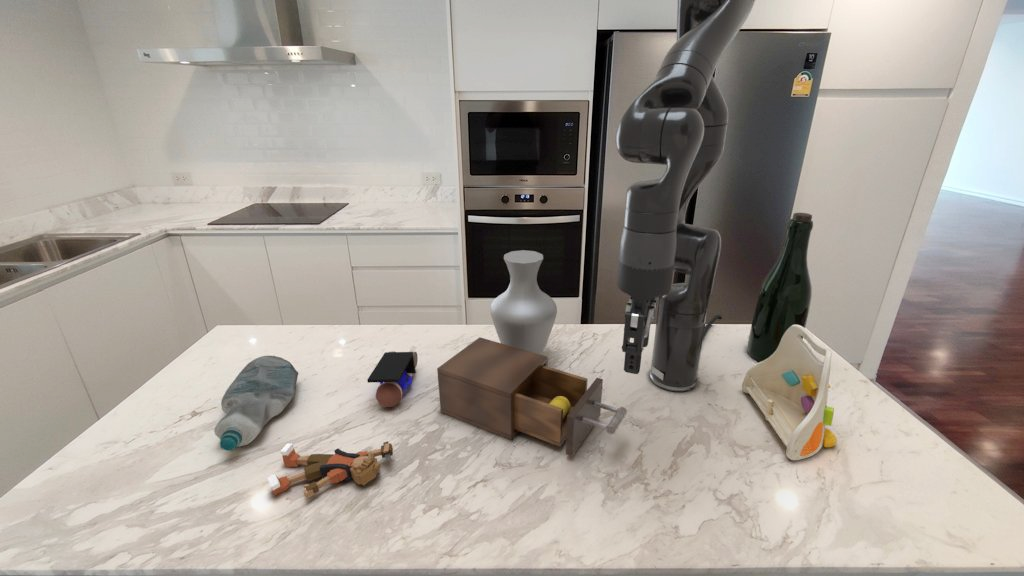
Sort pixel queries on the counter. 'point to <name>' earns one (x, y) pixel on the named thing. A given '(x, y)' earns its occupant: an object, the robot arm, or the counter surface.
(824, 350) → the shape sorter
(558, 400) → the yellow capsule
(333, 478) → the character figurine
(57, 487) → the counter surface
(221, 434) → the plastic water bottle
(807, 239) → the green wine bottle
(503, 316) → the vase
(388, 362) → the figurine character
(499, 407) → the cabinet
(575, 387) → the drawer
